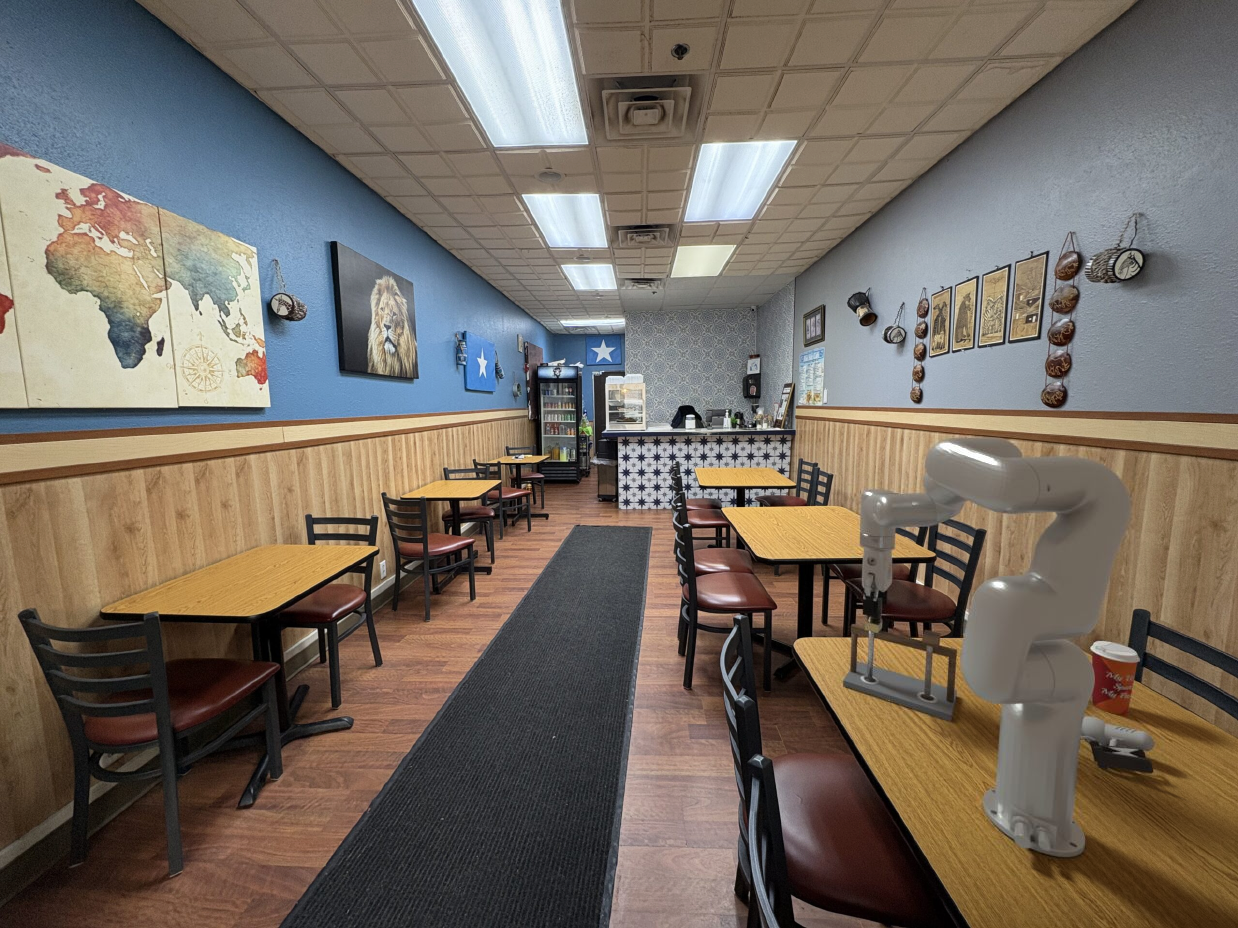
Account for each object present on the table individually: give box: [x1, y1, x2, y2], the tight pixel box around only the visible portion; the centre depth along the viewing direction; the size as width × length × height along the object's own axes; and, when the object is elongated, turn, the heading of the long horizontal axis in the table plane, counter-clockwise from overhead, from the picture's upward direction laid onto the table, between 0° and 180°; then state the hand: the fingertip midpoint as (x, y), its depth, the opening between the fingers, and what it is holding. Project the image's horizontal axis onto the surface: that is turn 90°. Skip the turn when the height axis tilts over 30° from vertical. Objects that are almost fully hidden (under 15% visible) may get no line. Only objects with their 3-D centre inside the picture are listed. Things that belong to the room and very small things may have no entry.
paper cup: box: [1090, 640, 1141, 716], centre depth 107 cm, size 8×8×14 cm
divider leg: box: [864, 596, 883, 678], centre depth 118 cm, size 4×3×20 cm
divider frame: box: [849, 623, 958, 703], centre depth 115 cm, size 4×22×14 cm, turn 50°
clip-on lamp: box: [1080, 716, 1155, 774], centre depth 95 cm, size 12×6×18 cm
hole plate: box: [842, 660, 958, 722], centre depth 116 cm, size 12×22×2 cm, turn 50°
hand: (875, 609), depth 117 cm, fingers open, 9 cm apart
